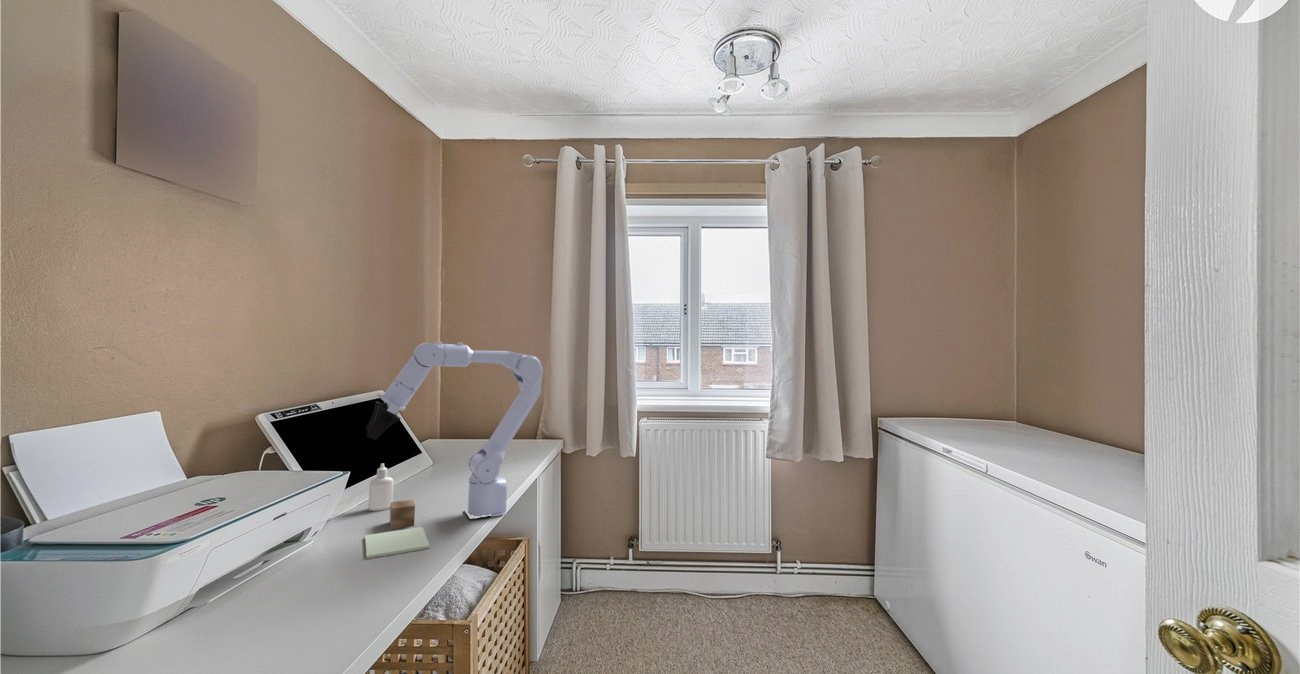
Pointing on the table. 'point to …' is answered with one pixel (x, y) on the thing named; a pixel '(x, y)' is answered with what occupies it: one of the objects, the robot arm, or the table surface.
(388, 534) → the sage board
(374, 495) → the eye dropper bottle
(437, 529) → the table surface
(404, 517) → the walnut cube
